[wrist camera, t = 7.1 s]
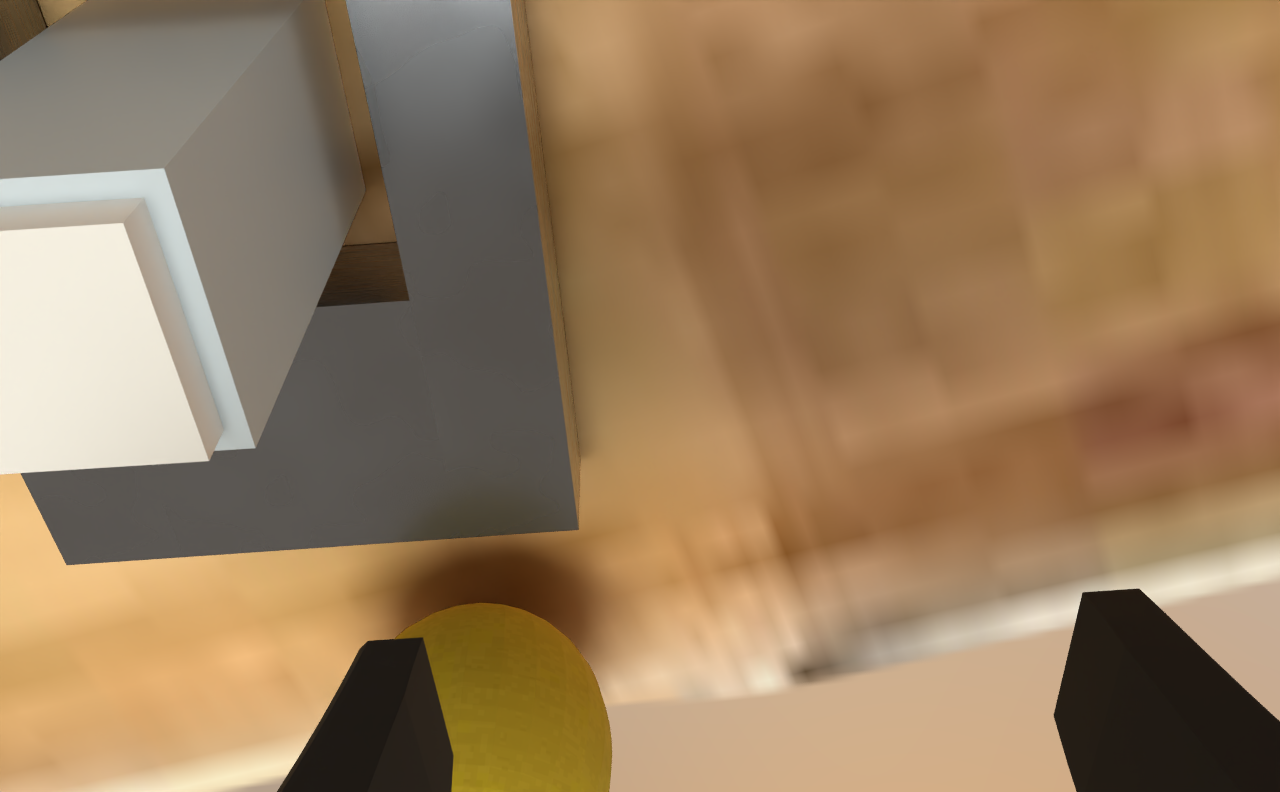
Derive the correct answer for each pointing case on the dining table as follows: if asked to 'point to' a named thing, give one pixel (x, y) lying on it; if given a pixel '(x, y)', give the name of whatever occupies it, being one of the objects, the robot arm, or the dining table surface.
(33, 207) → the plug
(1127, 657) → the robot arm
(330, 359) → the port panel
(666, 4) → the dining table surface
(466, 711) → the lemon
